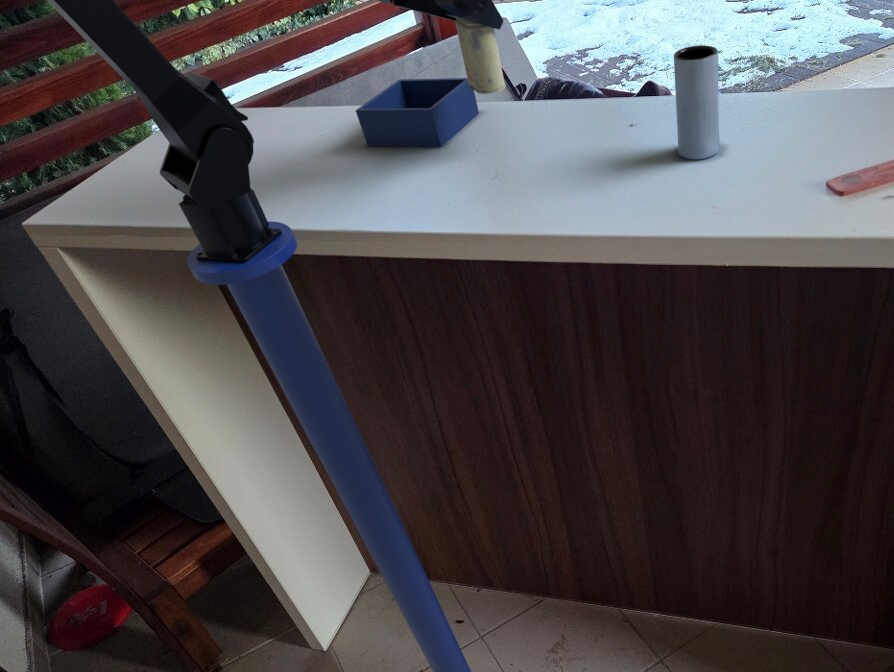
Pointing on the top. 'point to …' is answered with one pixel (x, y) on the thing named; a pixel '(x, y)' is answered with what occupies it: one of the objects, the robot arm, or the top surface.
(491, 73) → the lighter
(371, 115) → the box
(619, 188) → the top surface
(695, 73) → the grey tall cylinder
